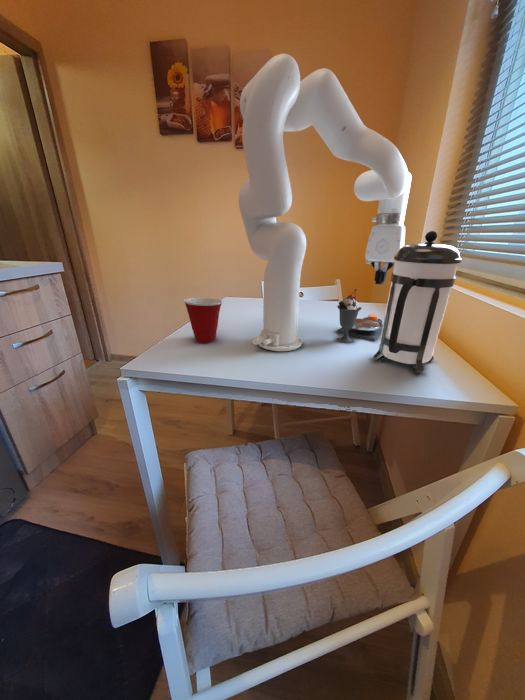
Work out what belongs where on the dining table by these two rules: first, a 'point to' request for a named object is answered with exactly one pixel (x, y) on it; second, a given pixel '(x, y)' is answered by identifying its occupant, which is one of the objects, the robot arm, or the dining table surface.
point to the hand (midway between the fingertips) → (379, 283)
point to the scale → (365, 332)
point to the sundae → (348, 316)
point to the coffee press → (417, 301)
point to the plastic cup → (203, 317)
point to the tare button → (373, 317)
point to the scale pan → (366, 325)
